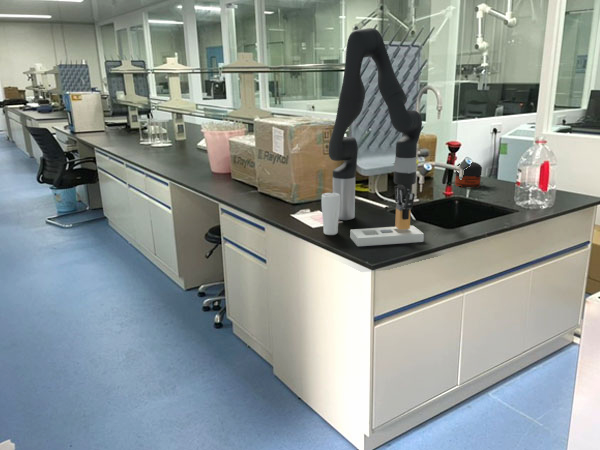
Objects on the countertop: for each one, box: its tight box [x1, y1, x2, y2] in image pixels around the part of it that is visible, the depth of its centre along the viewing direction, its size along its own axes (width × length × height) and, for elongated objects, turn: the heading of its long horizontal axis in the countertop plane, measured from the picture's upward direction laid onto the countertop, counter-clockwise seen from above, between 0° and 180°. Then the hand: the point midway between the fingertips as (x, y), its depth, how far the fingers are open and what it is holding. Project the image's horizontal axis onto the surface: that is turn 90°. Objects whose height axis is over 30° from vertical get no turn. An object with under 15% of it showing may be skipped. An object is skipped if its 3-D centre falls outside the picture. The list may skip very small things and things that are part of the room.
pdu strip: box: [349, 225, 425, 247], centre depth 171 cm, size 10×24×3 cm, turn 99°
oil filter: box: [454, 161, 483, 188], centre depth 252 cm, size 13×12×13 cm
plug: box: [394, 204, 412, 229], centre depth 170 cm, size 4×4×8 cm
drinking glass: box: [321, 192, 340, 236], centre depth 177 cm, size 7×7×15 cm
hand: (402, 217), depth 170 cm, fingers closed on plug, 4 cm apart
